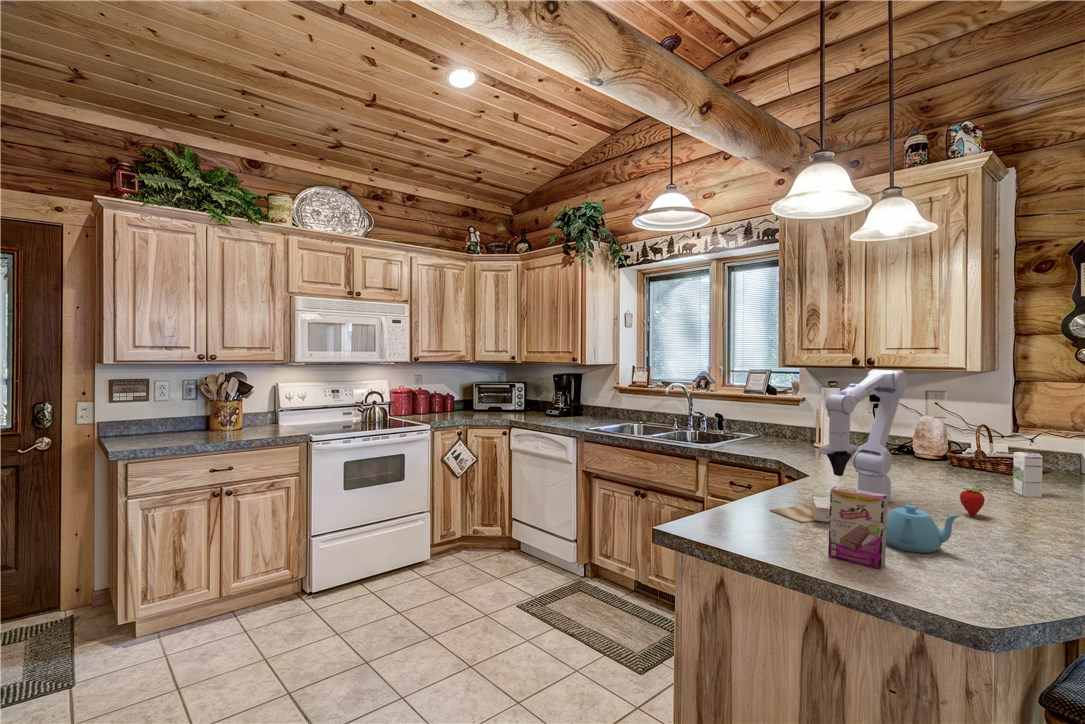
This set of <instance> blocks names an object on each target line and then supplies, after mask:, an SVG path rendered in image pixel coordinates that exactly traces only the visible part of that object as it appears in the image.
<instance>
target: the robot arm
mask: <svg viewBox="0 0 1085 724" xmlns="http://www.w3.org/2000/svg"><path fill="white" fill-rule="evenodd" d="M907 385H908V379H907V375H906V373H905V372H904V370H901V369H898V370H895V369H893V370H889V369H878V368H877V369H876V368H874V369H873V368H872V369H871V370H870V371H868V372H867V375H866V377H865V378H864V379H863V380H862V381H860V382H859V383H850V384H848V386H847V387H846V388H844V389H843V390H840V391H839V392H837V393H836V394H835V393H832V394H830V395H829V396H828V397H827V398H826V401H825V403H824V404H825V410H827V411H826V412H827V417H828V418H829V420H828V421H829V422H828V423H829V425H828V427H829V428H828V443H827V444H826V445H825V446H819V454H821V455H824V456H825V455H826V457H827V458H828V459H829V462H830V464H831V468H832V472H833V475H834V476H837V477H843V475H844V473H845V469H846V466H847V465H848V463H849V461H850V460H851V461H852V462H851V463H852V466H853V468H854V470H855V472H856V473H857V490H861V491H867V492H873V493H879V494H884V495H887V496H888V503H893V502H894V500H893V499H891V492H892V490H891V489H892V483H891V482H892V481H891V478H890V477H889V476H888V475H887V474H888V473H889V472H890V471H891V468H892V457H893V456H892V454H891V452H890V451H889V449H887V448H886V445H887V442H888V440H889V435H890V432H891V429H892V425H893V423H894V420H895V416H896V413H897V409H898V407H899V404H900V400H901V399H902V398H903V397H904V395H905V392H906V389H907ZM871 391H872V392H873V393H874V395H875V396H876V397H879V403H878V406H877V410H876V412H875V416H874V419H873V423H872V426H871V429H870V432H869V435H868V438H867V442H865V443H863V444H861V445H857V444H850V442H851V441H850V440H851V439H850V437H851V436H850V435H851V434H850V432H851V428H850V427H851V414H852V413H854V411H855V408H856V406H857V405H858V404H859V403H861V402H862V401H864V400H865V399H866V397H867V394H868V393H869V392H871ZM851 452H855V453H853V455H852V453H851ZM851 458H852V459H851Z"/></svg>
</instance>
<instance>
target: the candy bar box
mask: <svg viewBox="0 0 1085 724" xmlns="http://www.w3.org/2000/svg"><path fill="white" fill-rule="evenodd" d="M829 494H830V495H829V496H830V521H829V522H828V523H829V525H828V529H829V530H828V548H827V552H828V557H830V558H834V559H839V560H842V561H846V562H850V563H855V564H859V565H861V566H862V565H863V566H865V567H870V568H874V569H878V570H882V569H883V567H884V566H885V564H886V557H887V556H886V552H887V550H886V548H887V543H886V529H887V515H888V506H889V505H888V503H889V502H888V496H887V495H884V494H879V493H873V492H867V491H861V490H858V489H854V488H849V487H844V486H839V485H837V486H836V485H835V486H834V487H832V488H830V493H829Z"/></svg>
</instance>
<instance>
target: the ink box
mask: <svg viewBox="0 0 1085 724" xmlns="http://www.w3.org/2000/svg"><path fill="white" fill-rule="evenodd" d="M811 508H812V512H813V516H814V520H819V521H820V522H826V523H829V521H830V495H829V496H828V495H821V494H811ZM819 521H818V522H819Z"/></svg>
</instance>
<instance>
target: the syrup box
mask: <svg viewBox="0 0 1085 724" xmlns="http://www.w3.org/2000/svg"><path fill="white" fill-rule="evenodd" d="M1043 459H1044V458H1043V455H1040V454H1037V453H1032V452H1028V451H1017V452H1016V451H1015V452H1013V472H1012V474H1013V475H1012V492H1013V493H1014V494H1017V495H1019V496H1022V497H1024V496H1025V497H1026V498H1042V497H1043V462H1044V461H1043Z"/></svg>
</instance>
